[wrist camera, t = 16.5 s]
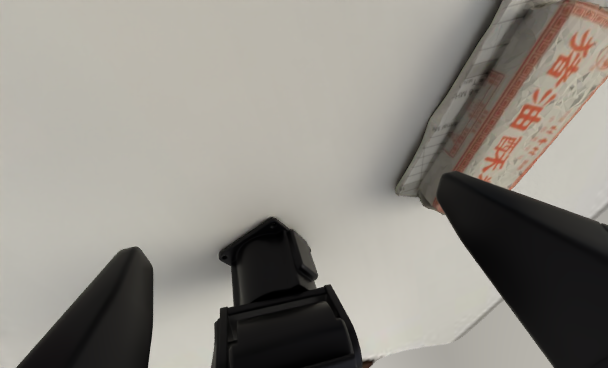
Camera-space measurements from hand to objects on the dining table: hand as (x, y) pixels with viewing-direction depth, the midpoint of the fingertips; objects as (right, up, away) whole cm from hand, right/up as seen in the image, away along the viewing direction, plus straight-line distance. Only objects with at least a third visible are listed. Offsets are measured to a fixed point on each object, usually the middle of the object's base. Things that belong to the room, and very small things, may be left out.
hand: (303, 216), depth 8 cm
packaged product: (+15, +8, +15) cm, 23 cm away
